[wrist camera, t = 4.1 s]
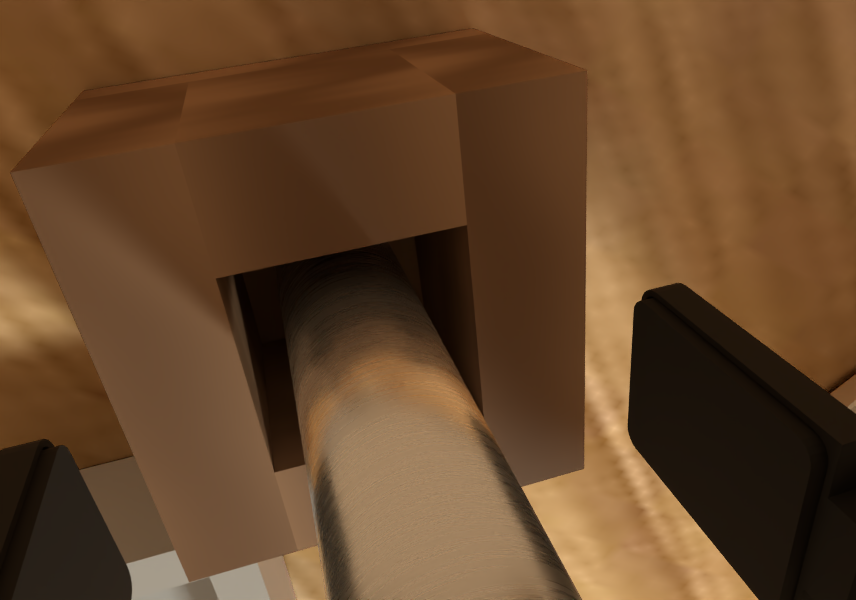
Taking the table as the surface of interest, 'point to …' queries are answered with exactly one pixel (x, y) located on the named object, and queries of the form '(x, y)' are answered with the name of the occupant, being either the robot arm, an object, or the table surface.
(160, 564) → the tray
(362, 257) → the steel pin
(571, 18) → the table surface
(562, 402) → the socket block
